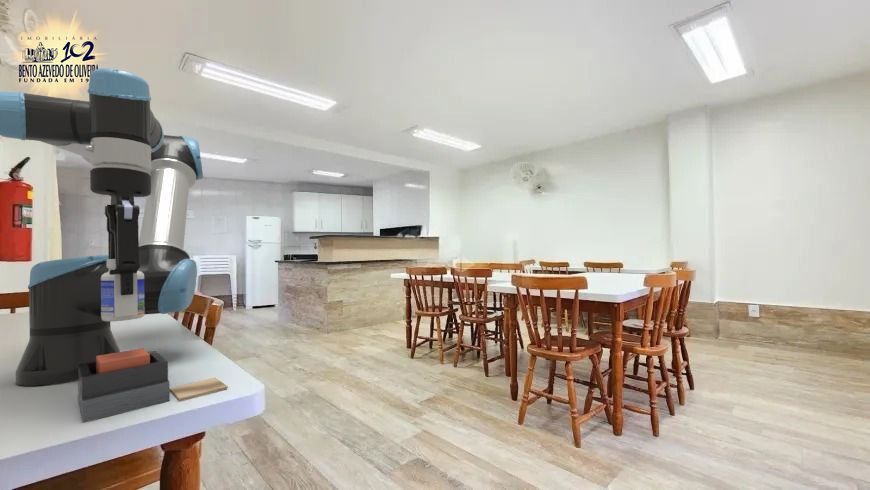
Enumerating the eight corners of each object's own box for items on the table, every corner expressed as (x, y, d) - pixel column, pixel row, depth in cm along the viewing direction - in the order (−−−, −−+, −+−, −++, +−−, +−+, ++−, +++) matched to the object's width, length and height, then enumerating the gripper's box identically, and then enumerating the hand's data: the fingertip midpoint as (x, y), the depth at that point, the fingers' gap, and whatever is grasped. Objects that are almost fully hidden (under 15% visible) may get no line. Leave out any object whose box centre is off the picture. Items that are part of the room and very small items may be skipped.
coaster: (169, 390, 63) (169, 388, 63) (215, 379, 68) (215, 377, 68) (179, 401, 58) (179, 398, 58) (227, 388, 64) (227, 386, 64)
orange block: (96, 387, 59) (96, 355, 59) (143, 377, 64) (143, 348, 64) (100, 396, 55) (99, 363, 55) (150, 385, 59) (149, 354, 60)
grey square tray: (78, 400, 60) (77, 362, 60) (154, 383, 67) (154, 350, 67) (82, 422, 52) (82, 379, 52) (169, 400, 59) (169, 362, 59)
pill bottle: (119, 322, 57) (119, 259, 57) (91, 321, 58) (91, 259, 58) (153, 316, 62) (152, 257, 62) (127, 315, 63) (126, 258, 63)
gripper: (86, 175, 64) (87, 310, 64) (95, 156, 51) (97, 325, 51) (141, 180, 69) (142, 305, 69) (162, 164, 56) (164, 317, 56)
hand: (123, 313), depth 60 cm, fingers closed on pill bottle, 5 cm apart
